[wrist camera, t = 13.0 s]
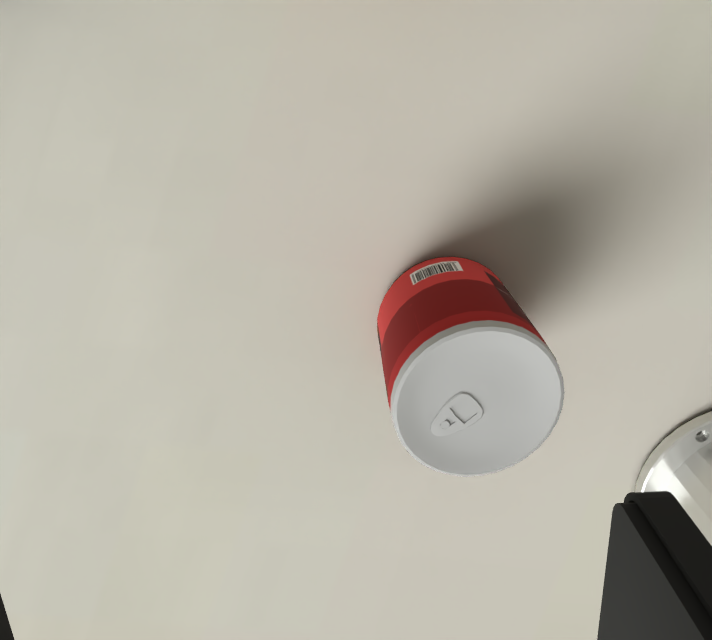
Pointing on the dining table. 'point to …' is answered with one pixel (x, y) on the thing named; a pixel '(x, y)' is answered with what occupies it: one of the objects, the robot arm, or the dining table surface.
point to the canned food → (465, 369)
